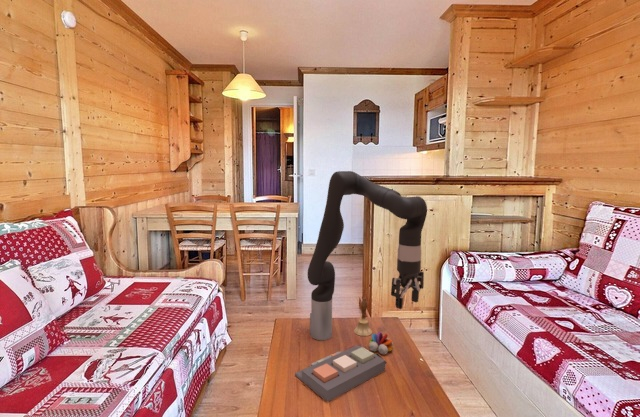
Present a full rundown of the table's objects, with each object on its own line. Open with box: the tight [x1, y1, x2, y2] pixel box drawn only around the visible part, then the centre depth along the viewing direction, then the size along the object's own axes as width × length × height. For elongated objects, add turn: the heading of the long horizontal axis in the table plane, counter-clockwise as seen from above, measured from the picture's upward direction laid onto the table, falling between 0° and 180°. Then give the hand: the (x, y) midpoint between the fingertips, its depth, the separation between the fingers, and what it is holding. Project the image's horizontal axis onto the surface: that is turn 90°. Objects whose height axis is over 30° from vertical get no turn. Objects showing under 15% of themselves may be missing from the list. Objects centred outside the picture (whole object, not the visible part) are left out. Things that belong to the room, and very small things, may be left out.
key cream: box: [333, 355, 357, 373], centre depth 125 cm, size 6×6×2 cm
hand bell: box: [353, 297, 373, 337], centre depth 157 cm, size 8×8×16 cm
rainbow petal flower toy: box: [368, 331, 394, 355], centre depth 143 cm, size 8×10×7 cm
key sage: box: [351, 346, 375, 364], centre depth 130 cm, size 6×6×2 cm
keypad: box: [294, 344, 387, 403], centre depth 127 cm, size 18×28×4 cm, turn 129°
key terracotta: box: [313, 363, 338, 383], centre depth 119 cm, size 6×6×2 cm
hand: (407, 304), depth 116 cm, fingers open, 8 cm apart
